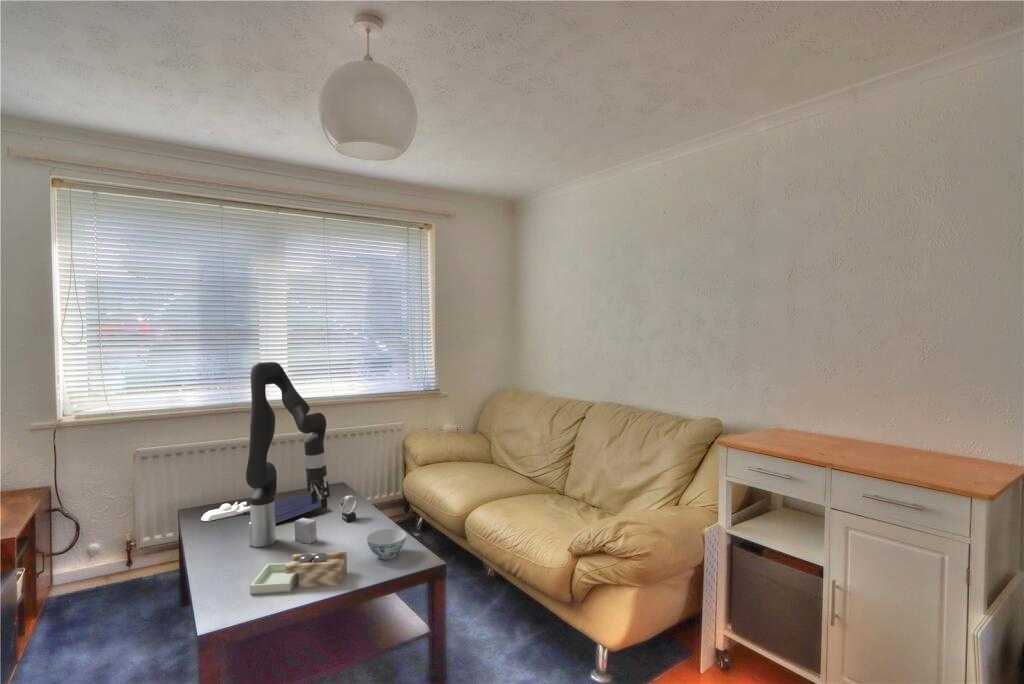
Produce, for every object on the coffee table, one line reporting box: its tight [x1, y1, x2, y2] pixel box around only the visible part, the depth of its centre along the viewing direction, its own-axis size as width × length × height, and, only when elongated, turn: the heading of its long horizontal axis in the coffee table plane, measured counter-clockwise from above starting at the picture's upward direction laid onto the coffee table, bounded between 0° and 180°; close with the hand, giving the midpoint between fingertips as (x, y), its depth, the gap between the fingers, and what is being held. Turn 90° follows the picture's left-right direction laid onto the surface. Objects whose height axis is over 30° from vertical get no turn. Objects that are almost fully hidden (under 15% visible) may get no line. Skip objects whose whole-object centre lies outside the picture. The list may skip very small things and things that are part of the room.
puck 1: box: [299, 553, 312, 563], centre depth 186 cm, size 4×4×2 cm
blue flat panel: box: [248, 493, 321, 524], centre depth 253 cm, size 24×30×4 cm
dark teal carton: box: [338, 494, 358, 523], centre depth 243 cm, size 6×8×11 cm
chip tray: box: [249, 562, 299, 595], centre depth 186 cm, size 13×16×3 cm
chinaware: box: [366, 528, 407, 560], centre depth 206 cm, size 15×15×8 cm
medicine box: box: [294, 517, 318, 545], centre depth 220 cm, size 8×4×9 cm, turn 65°
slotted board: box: [285, 551, 348, 588], centre depth 187 cm, size 18×10×8 cm, turn 96°
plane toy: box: [200, 501, 250, 522], centre depth 251 cm, size 10×20×6 cm, turn 127°
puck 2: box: [314, 552, 327, 562], centre depth 187 cm, size 4×4×2 cm
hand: (319, 505), depth 206 cm, fingers open, 8 cm apart
